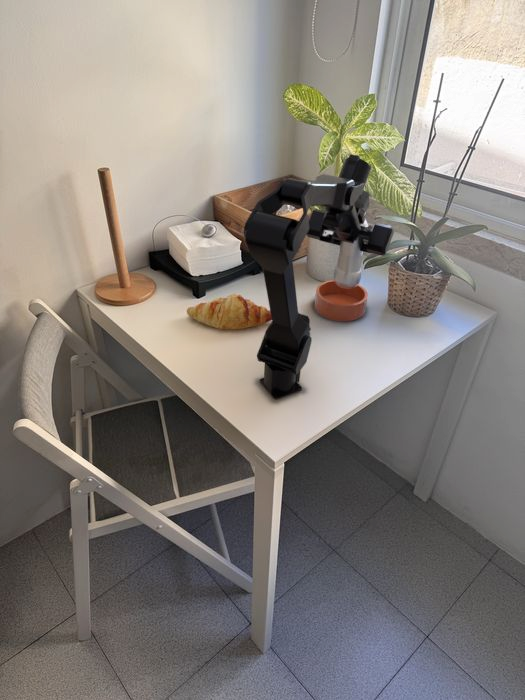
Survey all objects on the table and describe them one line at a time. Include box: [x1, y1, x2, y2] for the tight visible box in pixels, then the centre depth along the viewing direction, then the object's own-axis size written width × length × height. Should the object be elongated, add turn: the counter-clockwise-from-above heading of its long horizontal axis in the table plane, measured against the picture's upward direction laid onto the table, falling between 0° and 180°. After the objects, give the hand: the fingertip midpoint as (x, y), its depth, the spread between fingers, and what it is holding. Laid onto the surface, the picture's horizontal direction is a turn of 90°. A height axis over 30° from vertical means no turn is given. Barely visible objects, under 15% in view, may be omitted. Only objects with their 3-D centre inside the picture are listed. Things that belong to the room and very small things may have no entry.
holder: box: [314, 279, 369, 322], centre depth 127 cm, size 13×13×4 cm
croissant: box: [186, 293, 272, 330], centre depth 120 cm, size 21×10×8 cm, turn 87°
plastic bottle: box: [333, 211, 369, 289], centre depth 118 cm, size 6×7×20 cm
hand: (353, 246), depth 119 cm, fingers closed on plastic bottle, 6 cm apart
